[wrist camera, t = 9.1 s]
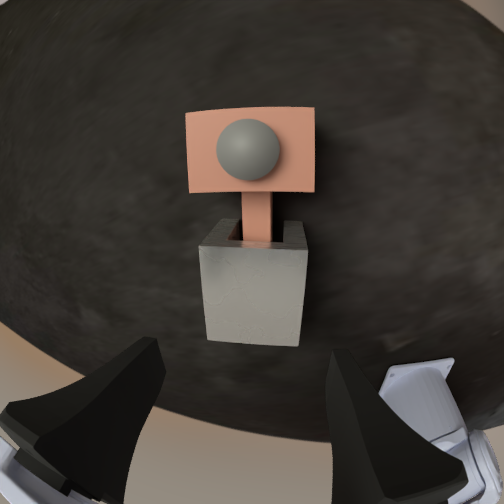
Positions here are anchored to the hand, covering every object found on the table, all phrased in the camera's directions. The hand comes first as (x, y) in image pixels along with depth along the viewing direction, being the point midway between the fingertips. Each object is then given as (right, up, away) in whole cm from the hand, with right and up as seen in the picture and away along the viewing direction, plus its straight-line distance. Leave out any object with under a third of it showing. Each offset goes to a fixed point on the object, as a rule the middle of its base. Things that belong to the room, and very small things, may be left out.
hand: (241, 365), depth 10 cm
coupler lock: (+1, +4, +9) cm, 10 cm away
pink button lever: (+1, +6, +8) cm, 10 cm away
